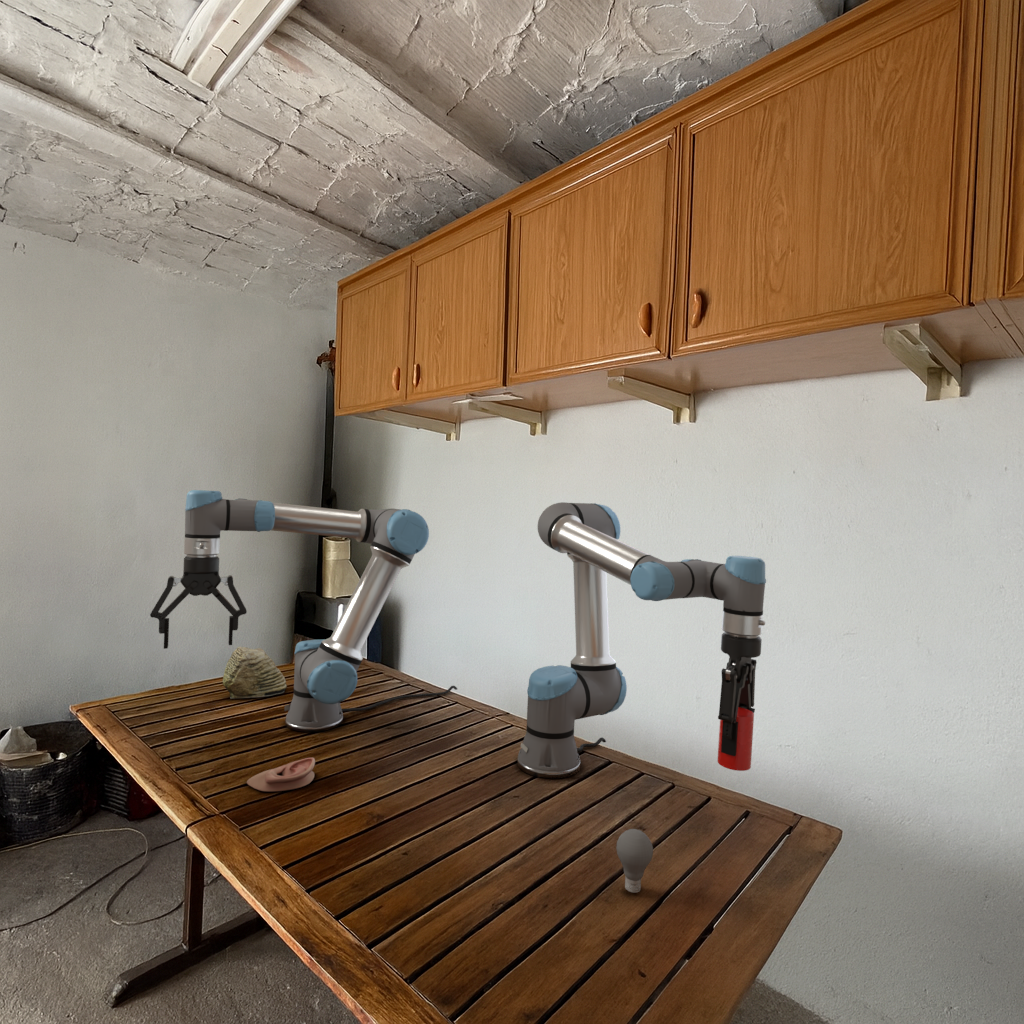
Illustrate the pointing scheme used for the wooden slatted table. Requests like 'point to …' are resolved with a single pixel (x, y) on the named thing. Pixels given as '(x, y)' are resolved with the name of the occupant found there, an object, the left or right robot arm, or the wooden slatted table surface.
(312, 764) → the anatomical model
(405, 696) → the left robot arm
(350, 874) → the wooden slatted table surface
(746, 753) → the tin
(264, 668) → the fossil
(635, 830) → the light bulb
